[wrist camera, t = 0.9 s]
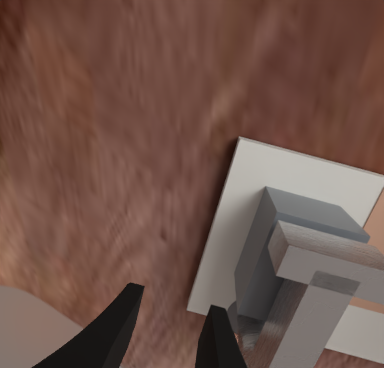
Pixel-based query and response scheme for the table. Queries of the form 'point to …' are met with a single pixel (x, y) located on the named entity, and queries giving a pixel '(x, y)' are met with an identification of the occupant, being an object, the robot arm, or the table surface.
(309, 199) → the grey rectangular block
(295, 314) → the latch
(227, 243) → the board
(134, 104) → the table surface
